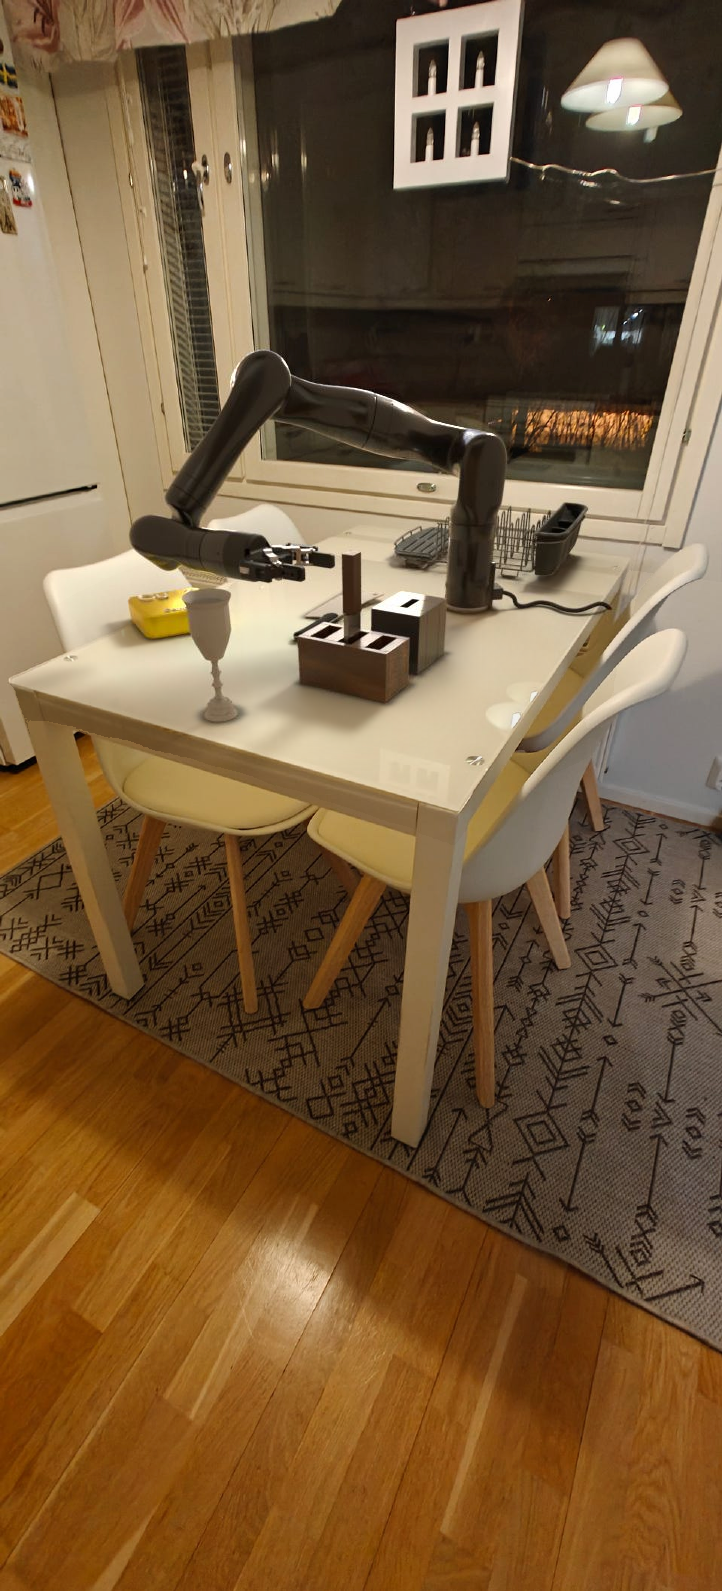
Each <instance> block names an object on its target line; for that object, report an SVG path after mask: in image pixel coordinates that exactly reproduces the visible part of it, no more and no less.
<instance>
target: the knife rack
mask: <svg viewBox="0 0 722 1591" xmlns="http://www.w3.org/2000/svg"><path fill="white" fill-rule="evenodd" d="M297 640H298V641H297ZM297 640H296V641H297V655H298V672H299V684H303V685H307V686H312V687H316V688H320V689H323V690H329V691H333V692H336V693H337V692H338V693H341V694H346V695H350V696H354V697H358V698H363V699H367V700H372V701H376V702H380V703H388V701H390V700H391V699H393V697H395V696H397V694H398V693H400V692H401V691H403V690H404V689H405V688H406V687H407V686H408V685H409V674H410V673H409V645H410V638H408V637H402V636H397V635H392V634H386V633H381V632H375V631H371V629H364V628H361V639H359V640H358V641H356V642H354V643H353V644H351V645H350V644H345V643H344V624H337V623H334V622H333V623H327V622H323V623H321V624H319V625H317V626H316V627H314V628H312V629H310V630H308V631H306V632H305V633H303V634H301V635H299V636H297Z"/></svg>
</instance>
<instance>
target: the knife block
mask: <svg viewBox="0 0 722 1591" xmlns="http://www.w3.org/2000/svg"><path fill="white" fill-rule="evenodd" d="M447 610H448V609H447V598H445V597H442V596H441V597H440V596H433V595H427V594H422V593H421V594H420V593H414V592H408V591H403V590H401V591H399V592H397V593H395V594H394V595H392V596H390V597H388V598H387V599H385V600H383V601H381V602H380V603H377V605H374V606H373V607H371V608H370V631H375V632H381V633H386V634H392V635H397V636H402V637H408V638H410V645H409V674H414V675H419V674H420V673H422V672H423V671H424V670H425V669H427V668H428V667H429V666H430V665H431V664H433V663H434V662H435V661H436V660H438V659H439V658H440V657H442V655H444V654H445V643H446V642H445V641H446V628H447V625H446V623H447Z"/></svg>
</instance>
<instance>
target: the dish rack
mask: <svg viewBox="0 0 722 1591" xmlns="http://www.w3.org/2000/svg"><path fill="white" fill-rule="evenodd" d="M531 510H532V508H531V507H528V508H527V511H526V512H522V514H521V519H520V517H519V516H518V517H517V518H516V519H515V525H514V522H512V511H513V510H512V506H511V505H508V507H507V512H506V510H504V509H503V510H502V512H501V517H500V516H499V514H497V521H496V532H495V538H496V541H495V543H494V545H496V548H494V551H497V552H500V553H499V554H500V555H493V558H497V559H499V561H498V562H495V563H496V565H498V566H496V570H500V575H501V577H502V578H507V579H517V578H518V577H519V572H521V573H534V575H535V576H540V577H541V576H542V577H547V576H551V575H553V574H555V573H556V571H558V569H559V567H560V566H561V565H562V563H564V561H565V559H567V557H568V555H569V554H570V553H571V551H573V548H574V547H575V545H576V544H577V541H578V538H579V535H580V530H581V526H582V523H583V521H584V520H585V519H586V513H587V511H589V507H588V506H587V505H586V504H582V503H578V502H568V501H565V502H562V504H561V505H560V506H559V507H558V508H557V509H556V510H555V511H554V512H553V513H552V510H550V509H548V510H547V514H543V516H542V519H538V520H537V522H536V525H535V524H534V523H533V524H532V525H531V515H532V514H531ZM447 521H448V522H447ZM449 521H450V515H449V516H447V517H446V518H445V520H444V522H441V521H438V522H436V524H437V526H429V527H426V528H424V529H423V528H422V527H423V526H422V525H418V526H416V527H414V528H412V529H409V530H408V531H406V532H405V533H404V534H402V535H400V537H398V538H397V539H396V540H395V541H394V543H393V545H394V547H393V548H394V549H393V550H394V553H395V556H396V558H401V559H403V560H404V565H405V566H409V567H414V568H418V567H421V563H422V561H424V562H428V563H430V562H432V563H439V564H440V563H441V564H447V560H438V559H437V558H441V559H447V556H445V552H448V539H449ZM447 526H448V528H447ZM418 529H420V530H419V531H416V530H418ZM414 531H416V532H415V533H413V532H414ZM409 534H410V535H409ZM407 535H409V536H407ZM404 537H405V538H404ZM400 540H401V541H400ZM503 548H504V549H503ZM509 548H510V549H509ZM520 548H522V552H520ZM514 554H519V555H520V554H521V558H518V557H517V558H516V557H514ZM508 555H509V556H508ZM529 557H530V559H529ZM408 559H409V560H411V561H413V560H418V561H419V562H418V563H411V562H408ZM502 559H503V563H502ZM508 560H516V561H520V564H511V563H507V561H508ZM523 562H524V563H523ZM529 562H531V570H529V569H523V568H527V566H528V563H529ZM523 564H524V565H523ZM503 566H510V567H503ZM511 566H512V567H519V568H511ZM504 571H511V572H512V571H513V572H516V575H514V574H513V575H512V574H505V573H504Z"/></svg>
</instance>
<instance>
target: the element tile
mask: <svg viewBox="0 0 722 1591" xmlns="http://www.w3.org/2000/svg"><path fill="white" fill-rule="evenodd" d="M198 589H199V588H197V587H188V588H182V589H176V590H169V591H162V592H161V591H160V592H154V593H143V594H139V595H136V596H131V597H129V598H128V600H127V603H128V609H129V613H130V619H131V621H132V622H133V623H134V625H135V626H136V627H137V628H138V630H140V632H141V633H142V634H143V636H144V637H146V638H147V639H152V640H155V639H156V640H157V639H164V638H169V637H175V636H180V635H181V636H182V635H186V634H190V629H189V622H188V615H187V608H186V605H185V604H184V602H183V601H182V598H181V597H182V596H183V595H184V594H185V593H187V592H190V591H193V590H198Z"/></svg>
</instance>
